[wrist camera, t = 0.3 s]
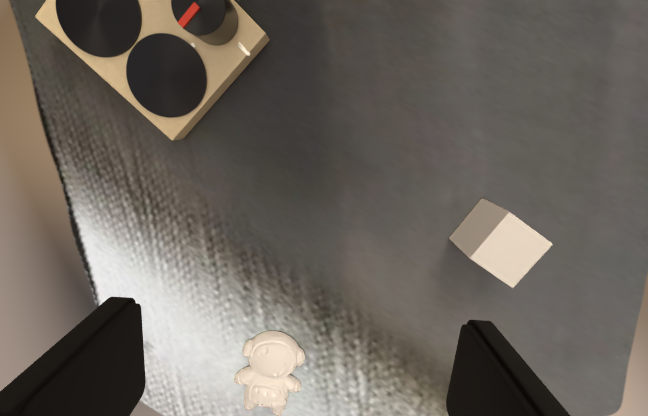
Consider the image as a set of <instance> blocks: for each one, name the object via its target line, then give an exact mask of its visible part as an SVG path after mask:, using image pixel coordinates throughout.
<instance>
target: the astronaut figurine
mask: <svg viewBox="0 0 648 416" xmlns="http://www.w3.org/2000/svg"><path fill="white" fill-rule="evenodd" d="M243 355H244V356H245V357H249V359H248V362H249V364H250V366H249V367H246V368H243V369H241V370H240V371H239V372H238V373H237V374H236V375H235V376H234V379H233V380H234V383H236V384H239V385H241V384H243V385H244V384H246V390H245V395H244V406H245V408H246V409H247V410H252V409H253V408H254V407H255V406H256V405H258V406H262V407H267V408H272V411H273V413H274V414H275V415H276V416H279V415H281V414H282V412H283V411H284V409H285V407H286V403H287V398H288V391H292V392H294V393H296V392H299V391H300V389H301V385H300V382H299V380H298V379H297V378H295V377H294V376H292V375H290V374H291V373H292V372H293V371H294V370H295V366H301V365H302V364H303V362H304V360H305V355H304V351H303V350H302V349H301V348H299V347H298V344H297V343H296V342H295V340H294V339H293V338H291V337H290V336H288V335H286V334H284V333H282V332H278V331H266V332H263V333H260V334H258V335H257V336H255V337H254V338H253V339H251V340H248V341H247V342H246V343H245V344H244V347H243Z"/></svg>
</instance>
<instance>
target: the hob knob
mask: <svg viewBox="0 0 648 416" xmlns="http://www.w3.org/2000/svg"><path fill="white" fill-rule="evenodd" d="M171 7H172V12H173V15H174V17H175V19H176V21H177V22H178V24H179V25H180V26H181V27H182V28H183V29H185V30H186V31H188V32H189V33H191V34H192V35H194V36H195V37H197V38H199V39H200V40H202V41H203V42H205V43H207V44H210V45H216V46H217V45H223V44H226V43H227V42H229V41H230V40H231V39H232V38H233V37H234V35H235V34H236V31H237V28H238V14H237V11H236V9H235V7H234V5H233V4H232V2H231V1H230V0H171Z"/></svg>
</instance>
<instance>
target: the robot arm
mask: <svg viewBox="0 0 648 416" xmlns="http://www.w3.org/2000/svg"><path fill="white" fill-rule="evenodd" d="M144 389H145V367H144V350H143V333H142V316H141V306H140V304H136V303H135V300H134V299H133V298H123V297H110V298H108V299H107V300H106V301H105V302H104V303H102V304H101V305H100V306H99V307H98V308H97V309H96V310H94V311H93V312H92V313H91V314H90V315H89V316H88V317H86V318H85V319H84V320H83V321H82V322H80V323H79V324H78V325H77V326H76V327H75V328H74V329H72V330H71V331H70V332H69V333H68V334H67V335H65V336H64V337H63V338H62V339H61V340H60V341H58V342H57V343H56V344H55V345H54V346H53V347H51V348H50V349H49V350H48V351H47V352H46V353H44V354H43V355H42V356H41V357H40V358H39V359H37V360H36V361H35V362H34V363H33V364H32V365H31V366H30V367H28V368H27V369H26V370H25V371H24V372H23V373H21V374H20V375H19V376H18V377H17V378H15V379H14V380H13V381H12V382H11V383H10V384H9V385H7V386H6V387H5V388H4V389H3V390H2V391H0V416H130V414H131V412H132V411H133V409H134V408H135V406H136V405H137V403H138V402H139V400H140V398H141V397H142V395H143V392H144ZM446 406H447V412H448V415H449V416H570V415H569V414H568V412H567V411H566V410H565V409H564V408H563V407H562V405H561V404H560V403H559V402H558V401H557V399H556V398H555V397H554V396H553V395H552V393H551V392H550V391H549V390H548V389H547V387H546V386H545V385H544V384H543V383H542V381H541V380H540V379H539V378H538V377H537V376H536V374H535V373H534V372H533V371H532V370H531V368H530V367H529V366H528V365H527V364H526V362H525V361H524V360H523V359H522V358H521V356H520V355H519V354H518V353H517V352H516V350H515V349H514V348H513V347H512V346H511V345H510V343H509V342H508V341H507V340H506V339H505V337H504V336H503V335H502V334H501V333H500V331H499V330H498V329H497V328H496V327H495V325H494V324H493V323H492V322H491V321H481V320H469V321H468V323H467V325H465V324H464V325H462V327H461V331H460V335H459V340H458V345H457V350H456V355H455V360H454V365H453V370H452V375H451V380H450V385H449V389H448V394H447V400H446Z"/></svg>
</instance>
